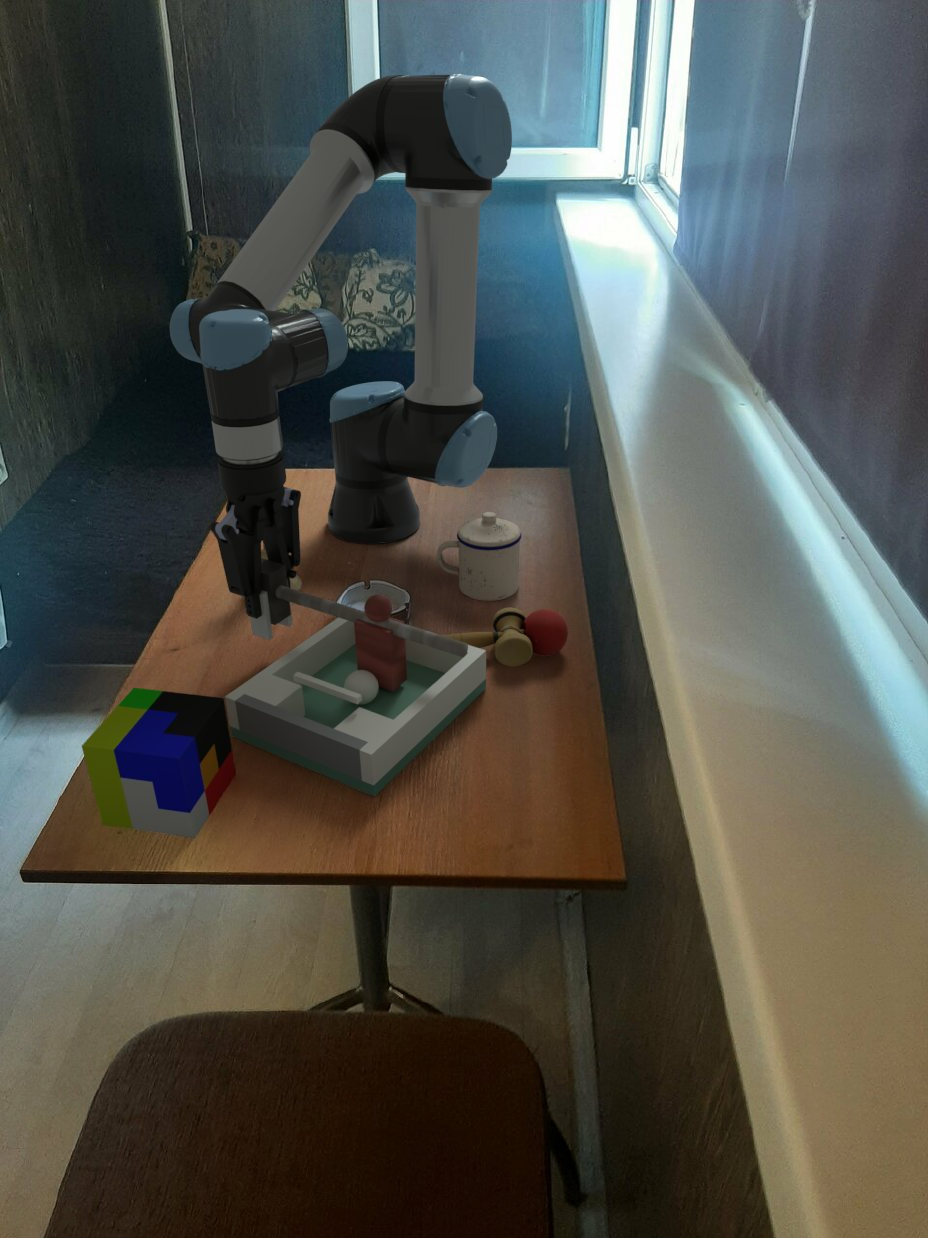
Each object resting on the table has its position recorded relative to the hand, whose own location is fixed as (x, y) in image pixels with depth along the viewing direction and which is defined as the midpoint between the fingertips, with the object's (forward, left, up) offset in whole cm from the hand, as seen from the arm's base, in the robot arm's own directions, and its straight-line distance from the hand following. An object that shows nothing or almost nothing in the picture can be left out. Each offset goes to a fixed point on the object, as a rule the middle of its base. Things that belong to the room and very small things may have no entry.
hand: (272, 629), depth 120 cm
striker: (0, +13, -2) cm, 13 cm away
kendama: (-15, +24, -4) cm, 29 cm away
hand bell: (-14, -13, -4) cm, 20 cm away
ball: (+4, +17, -1) cm, 17 cm away
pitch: (+4, +17, -4) cm, 18 cm away
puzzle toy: (+27, +9, -4) cm, 28 cm away
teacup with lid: (-29, +13, -4) cm, 32 cm away
